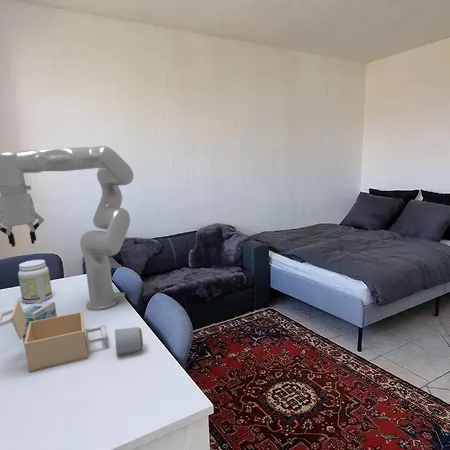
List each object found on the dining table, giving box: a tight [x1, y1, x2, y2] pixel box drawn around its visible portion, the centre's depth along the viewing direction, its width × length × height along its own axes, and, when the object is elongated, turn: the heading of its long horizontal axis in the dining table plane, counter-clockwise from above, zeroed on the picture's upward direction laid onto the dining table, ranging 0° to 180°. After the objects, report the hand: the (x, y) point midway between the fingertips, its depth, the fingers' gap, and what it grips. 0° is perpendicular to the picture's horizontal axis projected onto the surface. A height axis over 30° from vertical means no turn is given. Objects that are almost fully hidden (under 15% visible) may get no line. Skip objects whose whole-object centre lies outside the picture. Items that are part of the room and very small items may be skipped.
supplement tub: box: [17, 259, 53, 304], centre depth 161 cm, size 12×12×17 cm
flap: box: [0, 300, 27, 340], centre depth 107 cm, size 7×14×6 cm
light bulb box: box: [22, 300, 58, 343], centre depth 126 cm, size 11×7×11 cm, turn 168°
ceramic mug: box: [114, 326, 144, 356], centre depth 114 cm, size 11×8×8 cm
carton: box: [23, 311, 109, 373], centre depth 115 cm, size 23×16×9 cm
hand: (23, 243), depth 121 cm, fingers open, 5 cm apart
